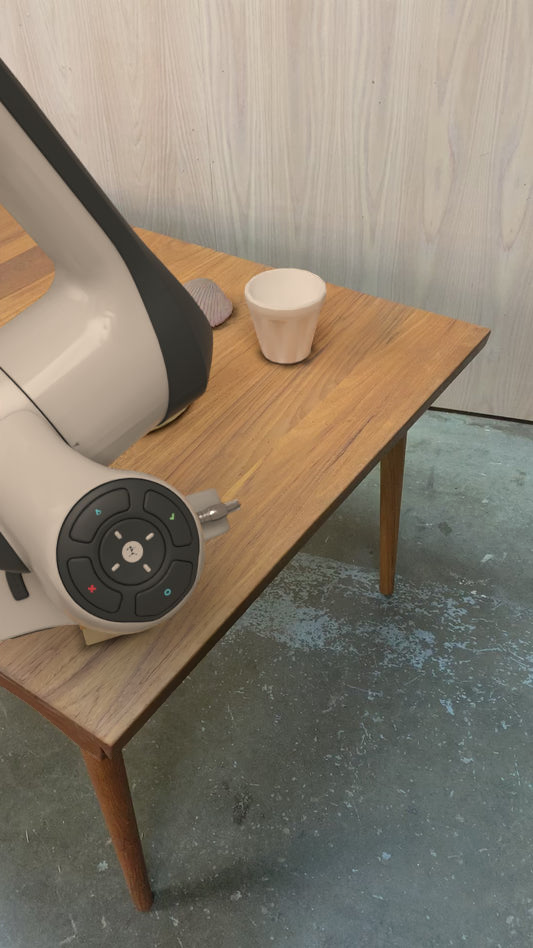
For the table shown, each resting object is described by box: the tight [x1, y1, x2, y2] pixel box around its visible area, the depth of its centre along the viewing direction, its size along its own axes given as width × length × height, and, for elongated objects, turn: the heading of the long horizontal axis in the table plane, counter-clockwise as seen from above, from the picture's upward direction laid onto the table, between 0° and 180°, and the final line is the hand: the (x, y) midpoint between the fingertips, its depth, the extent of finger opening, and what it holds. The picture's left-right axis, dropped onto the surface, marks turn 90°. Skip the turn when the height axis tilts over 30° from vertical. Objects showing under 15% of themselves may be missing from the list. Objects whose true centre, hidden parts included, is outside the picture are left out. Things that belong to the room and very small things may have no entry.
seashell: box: [182, 277, 233, 328], centre depth 107 cm, size 10×6×10 cm
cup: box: [243, 267, 327, 366], centre depth 97 cm, size 10×10×9 cm
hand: (91, 552), depth 65 cm, fingers open, 5 cm apart
